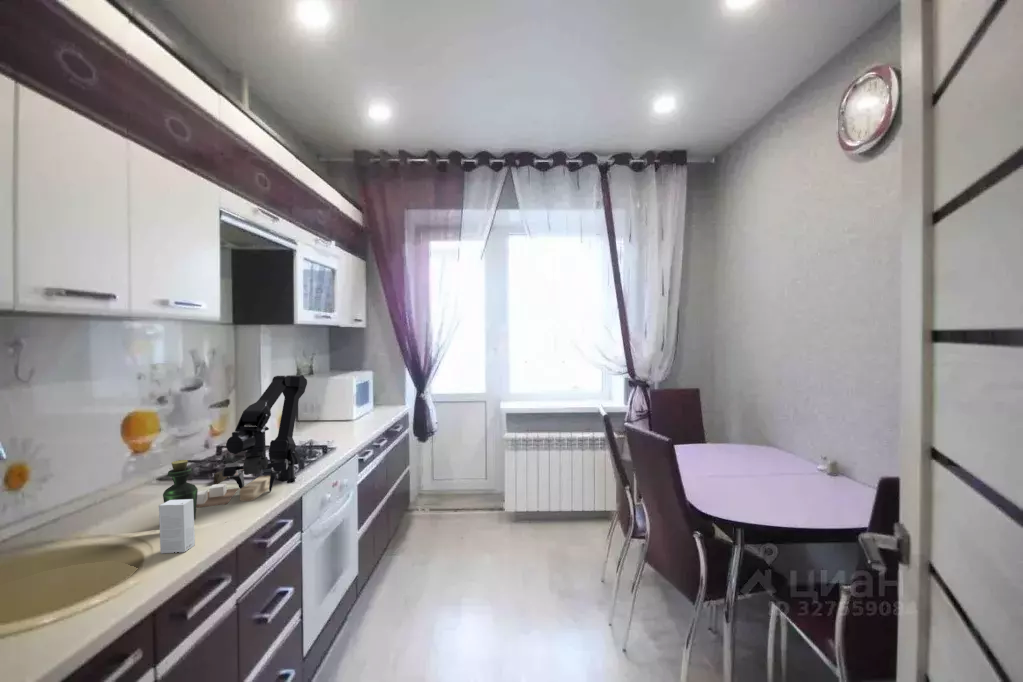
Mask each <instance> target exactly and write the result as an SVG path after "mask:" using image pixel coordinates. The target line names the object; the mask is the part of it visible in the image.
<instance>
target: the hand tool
mask: <svg viewBox="0 0 1023 682" xmlns="http://www.w3.org/2000/svg"><path fill="white" fill-rule="evenodd" d="M223 469H224V468H222V469H221V470H220V471H217V472H216V473H214V475H213V482H214V483H213V485H215V484H221V483H222V482H224V481H225V480H226V479H228V478H229V477H228V476H226V477H223V476H222V471H223ZM227 477H228V478H227Z"/></svg>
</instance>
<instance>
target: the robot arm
mask: <svg viewBox="0 0 1023 682" xmlns="http://www.w3.org/2000/svg"><path fill="white" fill-rule="evenodd" d="M307 386H308V380H307V378H306V377H305V376H304V375H301V374H300V375H296V374H293V375H292V374H291V375H275V376H273V378H272V380H271V383H270V384H269V385H268V386H267V388H265V390H264V392H263V394H261V396H260V397H259V398H258V400H257V401H256V402H254V403H252V404H250V405H249V406H247V407H246V408H245V409H244V410H243V412H242V413H241V415H240V418H239V420H238V423H237V424H236V428H235V429H234V431H232V433H231V436H230V437H229V438H228V439H227V440H226V443H225V448H226V450H227V451H228V452H229V453H230V454H232V455H237V454H240V453H243V452H245V457H244V461H243V465H241V464H240V462H236V463H227V464H226V465H225V466H224V467H223V468H222V469H223V471H222V470H221V471H222V476H223V477H226V476H229V479H233V480H234V481H235V482H236V485H237V486H238V487H239V490H240V489H241V488H242V487H244V486H245V477H244V475H245V476H249V475H259V474H261V472H262V470H271V471H270V473H269V476H270V485H269V489H268V490H269V492H270V493H272V489H273V486H274V484H275V479H277V480H278V481H280V482H286V483H292V482H291V481H294V482H296V480H295V479H297V477H295V476H296V474H295V465H299V463H300V462H301V455H300V454H299V452H297V450H296V448H297V447H296V443H295V439H294V438H293V437H294V436H293V435H294V431H295V429H294V428H295V425H296V424H295V423H296V417H297V411H298V407H299V400H300V398H301V397H302V396H303V395H304V394H305V392H306V389H307ZM282 394H283V397H284V400H283V405H282V411H281V415H280V421H279V427H278V431H277V432H278V434H277V436H276V437H275V439H272V440H271V441H270V442H269V449H268V456H267V452H266V451H267V450H266V447H267V445H266V431H269V430H270V428H269V427H268V426H267V424H268V422H269V421H270V420H269V419H270V418H271V416H272V412H271V410H272V407H274V405H275V403H276V402H277V401H278V399H279V398H280V397H281V395H282ZM276 477H277V478H276Z"/></svg>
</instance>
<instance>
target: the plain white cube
mask: <svg viewBox="0 0 1023 682" xmlns="http://www.w3.org/2000/svg"><path fill="white" fill-rule="evenodd" d="M208 488H209V489H208V492H209V498H210V497H219V496H224V495H225V493H226V492H227V490H228V489H227V482H226V483H225V482H224V483H219V484H215V485H214V484H211V486H210V487H208Z"/></svg>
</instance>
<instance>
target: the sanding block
mask: <svg viewBox="0 0 1023 682" xmlns="http://www.w3.org/2000/svg"><path fill="white" fill-rule="evenodd" d="M244 485H245V484H244ZM269 485H270V475H260V476H258V477H256V478H255V479H253V480H251V482H249V483H247V484H246V485H245V486H244V487H242V488H241V489H240V488H239V499H240V502H244V501H246V502H247V501H248V502H249V501H255V499H257V498H259V497H260V496H261V495H262V494H264V493H266V491H268V490H269Z"/></svg>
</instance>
